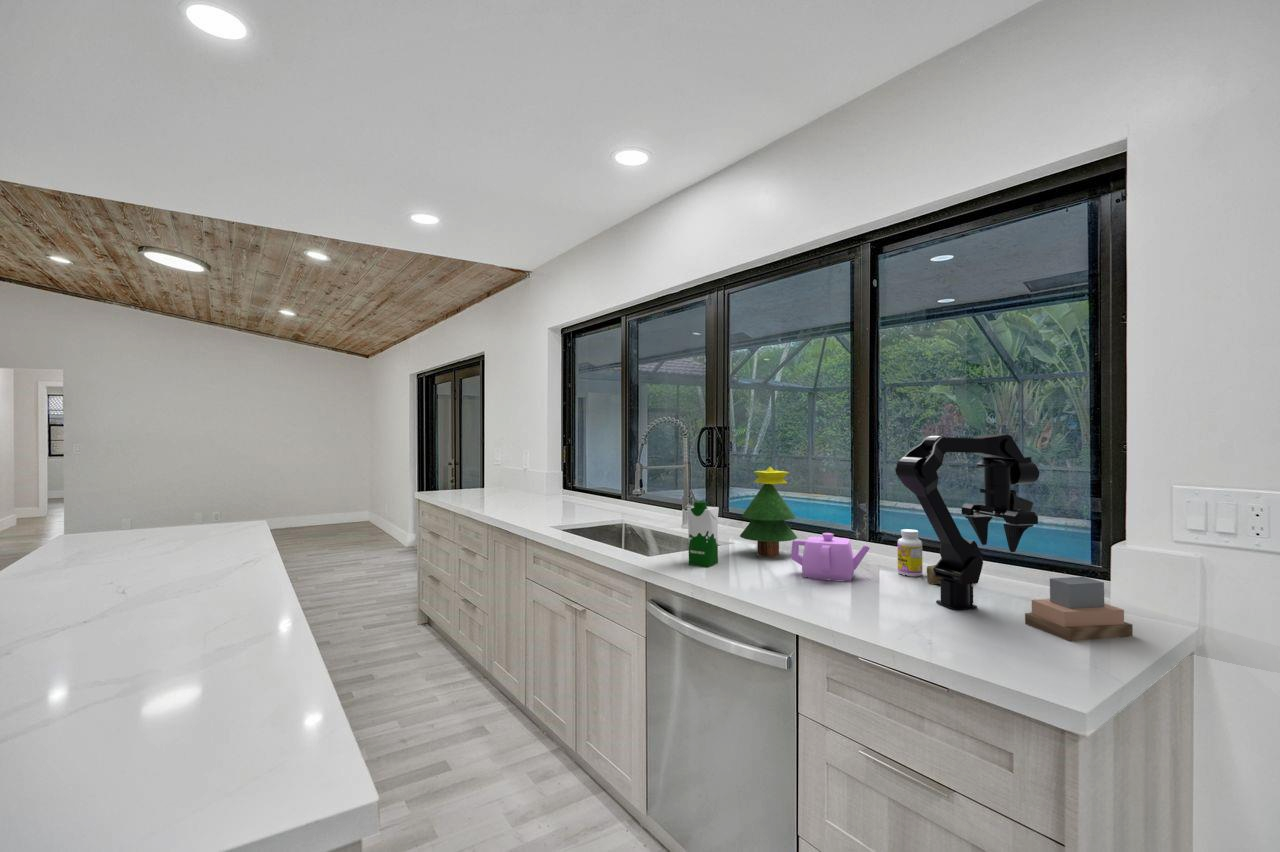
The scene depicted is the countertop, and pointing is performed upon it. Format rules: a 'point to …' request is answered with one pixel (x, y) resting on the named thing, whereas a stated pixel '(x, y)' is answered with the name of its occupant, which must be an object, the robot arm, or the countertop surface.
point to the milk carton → (703, 534)
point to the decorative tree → (768, 515)
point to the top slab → (1077, 614)
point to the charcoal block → (1077, 592)
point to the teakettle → (827, 557)
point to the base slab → (1079, 629)
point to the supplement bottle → (909, 553)
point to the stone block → (933, 575)
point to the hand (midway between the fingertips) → (998, 548)
